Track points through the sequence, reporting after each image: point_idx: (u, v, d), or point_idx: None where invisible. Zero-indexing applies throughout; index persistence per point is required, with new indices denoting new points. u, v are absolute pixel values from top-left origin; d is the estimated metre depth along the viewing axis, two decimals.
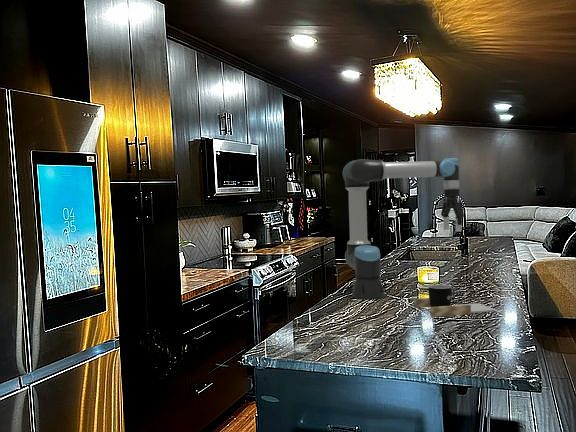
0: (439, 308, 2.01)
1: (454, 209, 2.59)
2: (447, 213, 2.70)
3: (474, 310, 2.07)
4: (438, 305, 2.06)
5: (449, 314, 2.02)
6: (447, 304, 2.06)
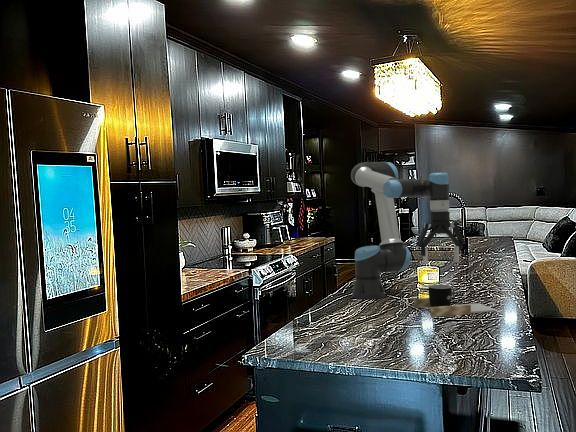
0: (439, 308, 2.01)
1: (427, 236, 2.12)
2: (454, 241, 2.12)
3: (474, 310, 2.07)
4: (438, 305, 2.06)
5: (449, 314, 2.02)
6: (447, 304, 2.06)
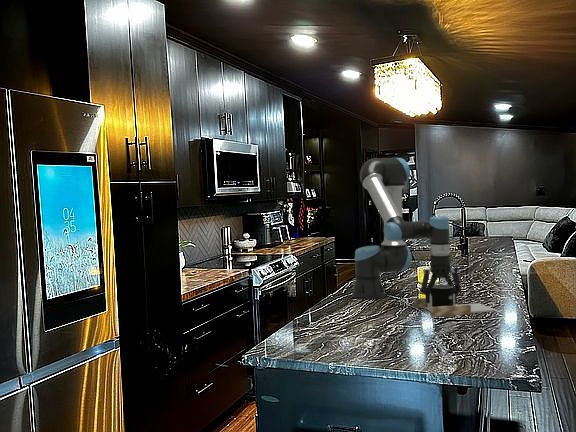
0: (439, 308, 2.01)
1: (429, 282, 2.11)
2: None
3: (474, 310, 2.07)
4: (440, 305, 2.06)
5: (449, 314, 2.02)
6: (449, 304, 2.06)
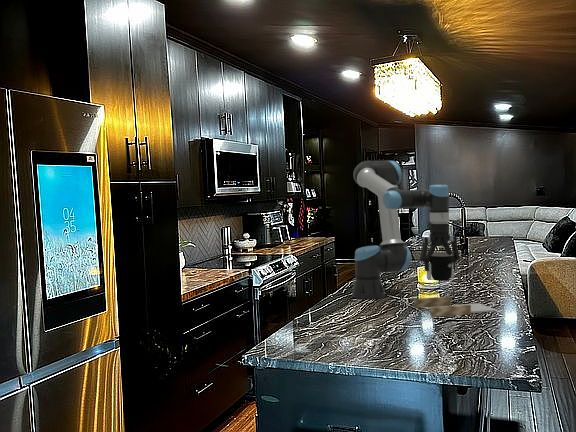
0: (439, 308, 2.01)
1: (429, 250, 2.11)
2: None
3: (474, 310, 2.07)
4: (439, 273, 2.06)
5: (449, 314, 2.02)
6: (448, 272, 2.06)
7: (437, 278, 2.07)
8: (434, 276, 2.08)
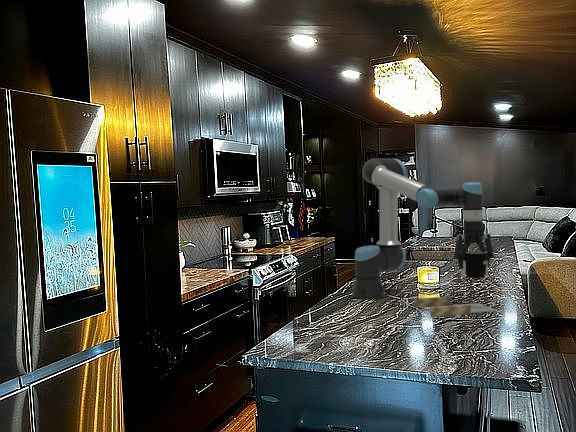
0: (439, 308, 2.01)
1: (462, 248, 2.12)
2: None
3: (474, 310, 2.07)
4: (474, 270, 2.07)
5: (449, 314, 2.02)
6: (483, 269, 2.07)
7: (472, 275, 2.08)
8: (469, 273, 2.09)
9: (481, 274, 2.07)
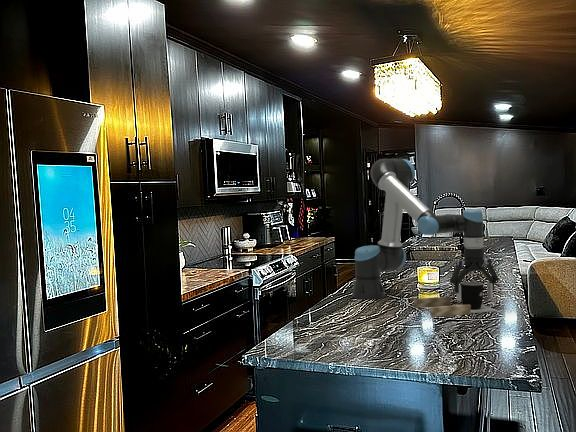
0: (439, 308, 2.01)
1: (460, 273, 2.12)
2: (487, 278, 2.12)
3: (474, 310, 2.07)
4: (471, 302, 2.07)
5: (449, 314, 2.02)
6: (479, 301, 2.07)
7: None
8: None
9: (478, 306, 2.08)
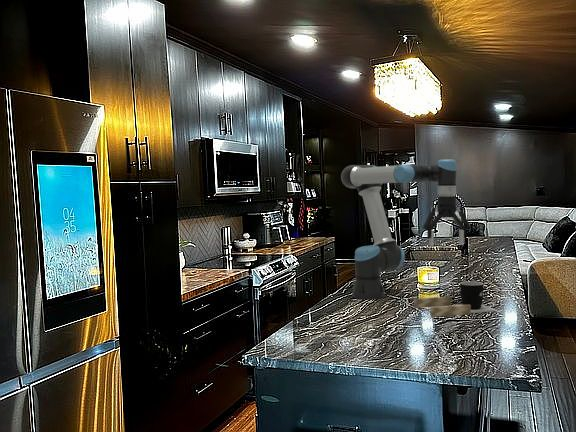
0: (439, 308, 2.01)
1: (434, 220, 2.23)
2: (459, 225, 2.23)
3: (474, 310, 2.07)
4: (471, 302, 2.07)
5: (449, 314, 2.02)
6: (479, 301, 2.07)
7: None
8: None
9: (477, 306, 2.08)
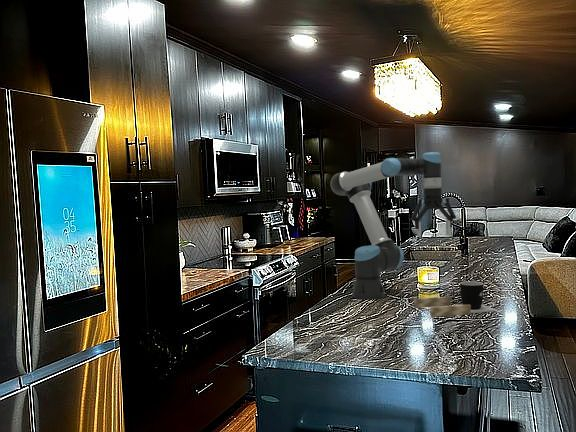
0: (439, 308, 2.01)
1: (421, 211, 2.30)
2: (445, 216, 2.30)
3: (474, 310, 2.07)
4: (471, 302, 2.07)
5: (449, 314, 2.02)
6: (479, 301, 2.07)
7: None
8: None
9: (477, 306, 2.08)
